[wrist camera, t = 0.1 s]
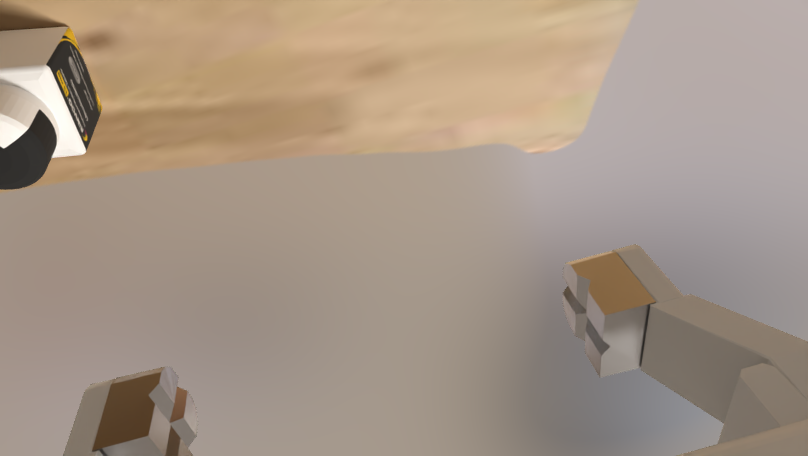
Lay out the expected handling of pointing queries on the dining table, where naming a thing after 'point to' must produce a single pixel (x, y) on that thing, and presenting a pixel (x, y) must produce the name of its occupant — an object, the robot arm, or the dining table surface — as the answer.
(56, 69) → the medicine bottle
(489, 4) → the dining table surface
